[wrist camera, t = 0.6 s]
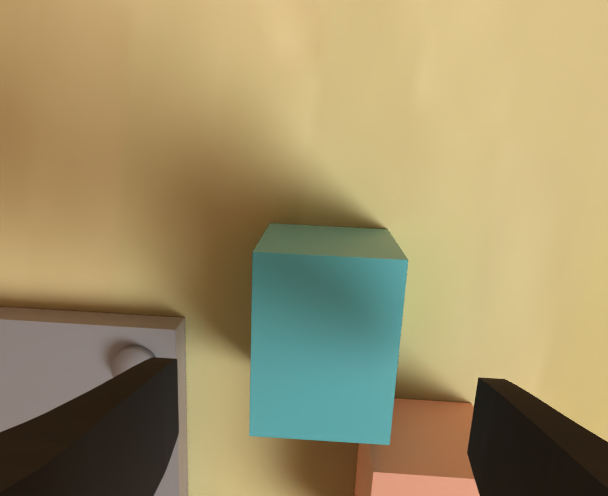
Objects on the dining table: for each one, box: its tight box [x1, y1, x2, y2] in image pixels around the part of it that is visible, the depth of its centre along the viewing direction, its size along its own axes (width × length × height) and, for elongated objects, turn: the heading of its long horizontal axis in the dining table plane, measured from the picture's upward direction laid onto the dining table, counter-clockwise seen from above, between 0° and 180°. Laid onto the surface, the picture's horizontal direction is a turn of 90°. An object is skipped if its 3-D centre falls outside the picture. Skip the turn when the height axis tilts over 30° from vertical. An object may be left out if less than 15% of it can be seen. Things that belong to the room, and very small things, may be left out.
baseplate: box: [0, 307, 188, 496], centre depth 19 cm, size 14×13×2 cm
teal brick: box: [249, 223, 408, 445], centre depth 16 cm, size 6×4×4 cm
